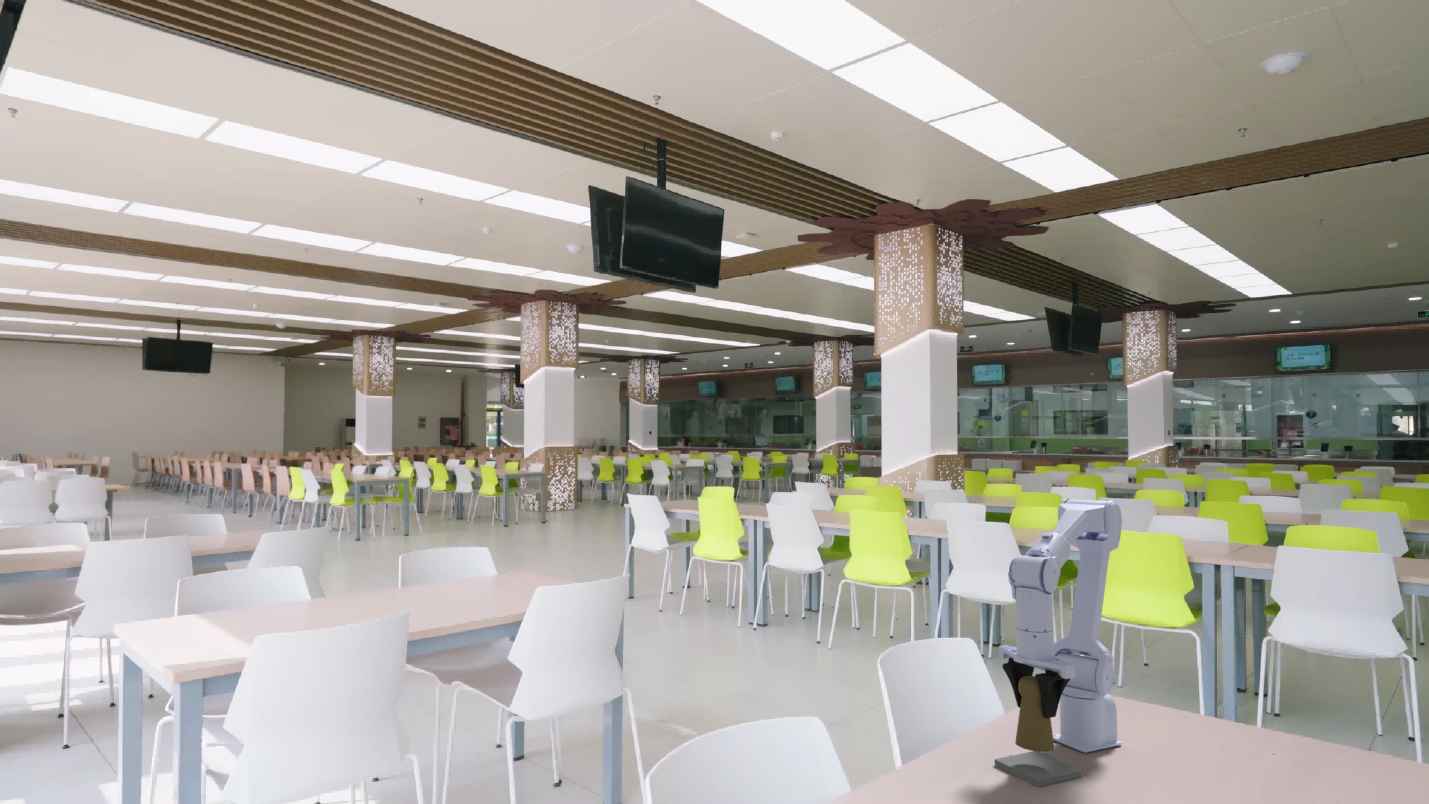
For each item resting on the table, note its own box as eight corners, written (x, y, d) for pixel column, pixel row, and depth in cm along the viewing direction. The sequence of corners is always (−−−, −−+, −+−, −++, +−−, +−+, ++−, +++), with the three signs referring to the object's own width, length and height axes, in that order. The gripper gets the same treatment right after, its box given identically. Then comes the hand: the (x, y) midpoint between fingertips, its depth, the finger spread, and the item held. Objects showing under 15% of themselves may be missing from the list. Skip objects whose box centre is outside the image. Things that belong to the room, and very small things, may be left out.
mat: (1036, 756, 140) (1036, 750, 140) (1082, 776, 131) (1082, 770, 132) (994, 765, 136) (994, 759, 136) (1038, 787, 128) (1038, 780, 128)
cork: (1056, 753, 130) (1056, 683, 131) (1016, 749, 132) (1016, 679, 133) (1052, 741, 136) (1052, 674, 137) (1013, 737, 137) (1014, 671, 138)
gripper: (984, 622, 140) (986, 702, 139) (1051, 640, 127) (1053, 729, 126) (1015, 618, 143) (1017, 696, 142) (1083, 636, 130) (1085, 722, 129)
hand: (1036, 711), depth 134 cm, fingers closed on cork, 5 cm apart
